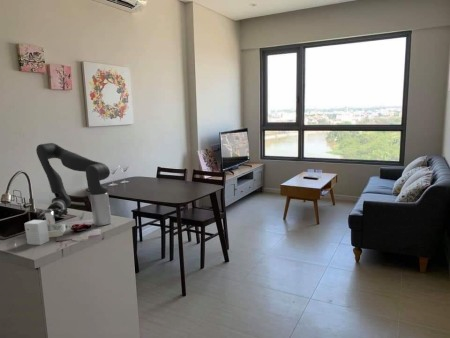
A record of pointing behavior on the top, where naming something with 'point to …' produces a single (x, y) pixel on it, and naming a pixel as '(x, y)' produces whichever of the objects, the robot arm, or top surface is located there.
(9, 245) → the top surface
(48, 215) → the glass shaker
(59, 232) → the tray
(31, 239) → the small box
